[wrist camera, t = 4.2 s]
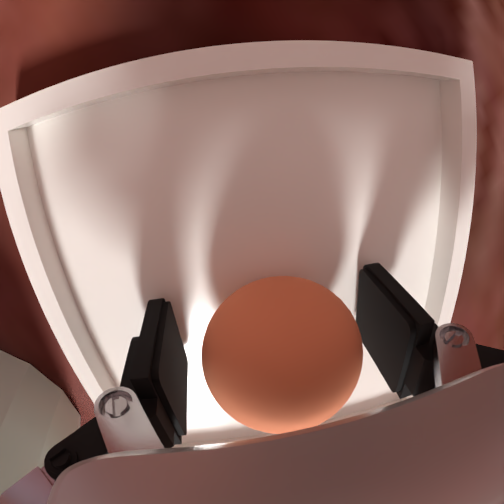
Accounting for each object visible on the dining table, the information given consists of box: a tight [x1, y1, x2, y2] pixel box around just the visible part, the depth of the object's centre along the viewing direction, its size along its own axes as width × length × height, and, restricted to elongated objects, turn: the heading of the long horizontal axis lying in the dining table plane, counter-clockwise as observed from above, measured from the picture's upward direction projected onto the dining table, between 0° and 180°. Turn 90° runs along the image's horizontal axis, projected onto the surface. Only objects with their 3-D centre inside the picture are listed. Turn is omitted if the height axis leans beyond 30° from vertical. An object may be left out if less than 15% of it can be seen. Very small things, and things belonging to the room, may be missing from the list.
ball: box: [201, 276, 363, 434], centre depth 10 cm, size 5×5×5 cm
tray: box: [0, 40, 477, 448], centre depth 12 cm, size 16×18×2 cm
